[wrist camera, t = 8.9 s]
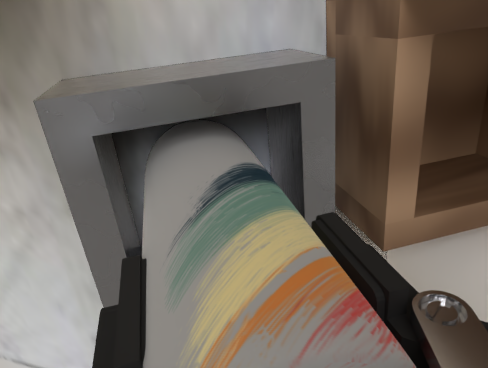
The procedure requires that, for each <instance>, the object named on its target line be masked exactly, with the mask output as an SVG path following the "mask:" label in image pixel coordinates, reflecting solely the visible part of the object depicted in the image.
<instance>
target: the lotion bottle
mask: <svg viewBox="0 0 488 368" xmlns="http://www.w3.org/2000/svg"><path fill="white" fill-rule="evenodd" d="M145 258H146V259H147V275H146V349H145V356H144V361H143V368H416V366H415V365H414V363H413V362H412V361H411V359H410V358H409V356H408V355H407V353H406V352H405V351H404V349H403V348H402V346H401V345H400V344H399V342H398V341H397V340H396V338H395V337H394V336H393V334H392V333H391V332H390V330H389V329H388V328H387V326H386V325H385V324H384V322H383V321H382V320H381V318H380V317H379V316H378V314H377V313H376V312H375V310H374V309H373V308H372V306H371V305H370V304H369V302H368V301H367V300H366V299H365V297H364V296H363V295H362V293H361V292H360V291H359V289H358V288H357V287H356V286H355V284H354V283H353V282H352V280H351V279H350V278H349V276H348V275H347V274H346V273H345V271H344V270H343V269H342V267H341V266H340V265H339V263H338V262H337V261H336V260H335V258H334V257H333V256H332V254H331V253H330V252H329V251H328V249H327V248H326V247H325V245H324V244H323V243H322V241H321V240H320V239H319V238H318V236H317V235H316V234H315V232H314V231H313V230H312V229H311V227H310V226H309V225H308V223H307V222H306V221H305V219H304V218H303V217H302V216H301V214H300V213H299V212H298V210H297V209H296V208H295V206H294V205H293V204H292V203H291V201H290V200H289V199H288V197H287V196H286V195H285V194H284V192H283V191H282V190H281V188H280V187H279V186H278V184H277V183H276V182H275V181H274V179H273V178H272V177H271V175H270V174H269V173H268V172H267V170H266V169H265V168H264V166H263V165H262V164H261V162H260V161H259V160H258V159H257V157H256V156H255V155H254V153H253V152H252V151H251V150H250V148H249V147H248V146H247V145H246V143H245V142H244V141H243V140H242V139H241V138H240V137H239V136H238V135H237V134H236V133H235V132H234V131H232V130H231V129H229V128H228V127H226V126H224V125H222V124H219V123H216V122H212V121H206V120H194V121H188V122H184V123H181V124H179V125H176V126H174V127H173V128H171V129H169V130H168V131H167V132H165V133H164V134H163V135H162V136H161V137H160V138H159V139H158V140H157V141H156V143H155V144H154V146H153V147H152V149H151V151H150V154H149V156H148V159H147V163H146V169H145V182H144V210H143V240H142V259H145Z"/></svg>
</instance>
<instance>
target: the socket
mask: <svg viewBox="0 0 488 368" xmlns="http://www.w3.org/2000/svg"><path fill="white" fill-rule="evenodd" d="M34 104H35V107H36V110H37V113H38V116H39V119H40V122H41V125H42V128H43V131H44V134H45V137H46V139H47V142H48V145H49V148H50V151H51V154H52V157H53V160H54V163H55V166H56V169H57V172H58V175H59V178H60V181H61V184H62V186H63V189H64V192H65V195H66V198H67V201H68V204H69V207H70V210H71V213H72V216H73V219H74V222H75V225H76V228H77V231H78V233H79V236H80V239H81V242H82V245H83V248H84V251H85V254H86V257H87V260H88V263H89V266H90V269H91V272H92V275H93V278H94V281H95V283H96V286H97V289H98V292H99V295H100V298H101V301H102V304H103V307H104V308H105V307H109V306H113V305H117V304H118V302H119V290H120V278H121V265H122V259H123V258H128V257H132V256H137V255H141V256H142V246H141V245H140V242H139V238H138V234H137V230H136V226H135V223H134V219H133V215H132V211H131V207H130V203H129V200H128V196H127V192H126V188H125V184H124V180H123V177H122V173H121V169H120V165H119V161H118V158H117V154H116V150H115V146H114V142H113V138H112V135H111V133H114V132H121V131H127V130H133V129H139V128H145V127H151V126H157V125H164V124H170V123H176V122H182V121H188V120H194V119H200V118H206V117H213V116H219V115H225V114H231V113H237V112H243V111H249V110H256V109H262V108H266V114H267V127H268V140H269V153H270V166H271V177H272V178H273V179H274V181H275V182H276V183H277V184H278V186H279V187H280V188H281V190H282V191H283V192H284V194H285V195H286V196H287V197H288V199H289V200H290V201H291V203H292V204H293V205H294V206H295V208H296V209H297V210H298V212H299V213H300V214H301V216H302V217H303V218H304V219H305V221H306V222H307V223H308V225H309V226H310V227H311V223H312V221H314V220H316V216H317V215H321V214H326V213H330V212H334V213H335V58H334V57H329V56H323V55H318V54H313V53H308V52H303V51H298V50H293V49H286V50H279V51H271V52H264V53H256V54H249V55H242V56H234V57H227V58H219V59H212V60H205V61H197V62H190V63H182V64H175V65H168V66H160V67H153V68H145V69H138V70H131V71H123V72H116V73H108V74H101V75H94V76H86V77H79V78H71V79H64V80H61V81H59V82H58V83H57V84H55V85H54V86H53V87H51V88H50V89H49V90H47V91H46V92H45V93H43V94H42V95H41V96H39V97H38V98H37V99H35V100H34Z"/></svg>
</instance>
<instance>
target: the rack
mask: <svg viewBox="0 0 488 368" xmlns="http://www.w3.org/2000/svg"><path fill="white" fill-rule="evenodd" d="M326 26H327V56H329V57H334V58H335V206H336V207H337V208H338V209H339V210H341V211H342V212H343V213H344V214H345V215H346V216H347V217H348V218H349V219H350V220H351V221H352V222H353V223H354V224H355V225H356V226H357V227H358V228H359V229H360V230H361V231H362V232H363V233H364V234H366V235H367V236H368V237H369V238H370V239H371V240H372V241H373V242H374V243H375V244H376V245H377V246H378V247H379V248H380V249H381V250H382V251H383V252H384V251H388V250H392V249H396V248H400V247H404V246H408V245H412V244H416V243H420V242H424V241H428V240H432V239H436V238H440V237H444V236H448V235H452V234H456V233H460V232H464V231H468V230H472V229H476V228H480V227H484V226H488V0H326Z"/></svg>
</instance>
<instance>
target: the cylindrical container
mask: <svg viewBox="0 0 488 368" xmlns="http://www.w3.org/2000/svg"><path fill="white" fill-rule="evenodd" d="M387 262H388V263H389V264H390V265H391V266H392V267H393V268H394V269H395V270H396V271H397V272H398V273H399V274H400V275H401V276H402V277H403V278H404V279H405V280H406V281H407V282H408V283H409V284H410V285H411V286H413V287H414V288H415V289H416V290H417V291H418V292H419V293H421V292H423V291H429V290H438V291H444V292H448V293H451V294H453V295H455V296H458V297H459V298H461V299H462V300H464V301H465V302H466V303H467V304H468V305H469V306H470V307H471V308H472V309H473V311H474V312H475V314H476V315H477V317H478V318H479V320H481V321H484V322H488V226H484V227H480V228H476V229H472V230H468V231H464V232H460V233H456V234H452V235H448V236H444V237H440V238H436V239H432V240H428V241H424V242H420V243H416V244H412V245H408V246H404V247H400V248H396V249H392V250H388V251H387Z"/></svg>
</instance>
